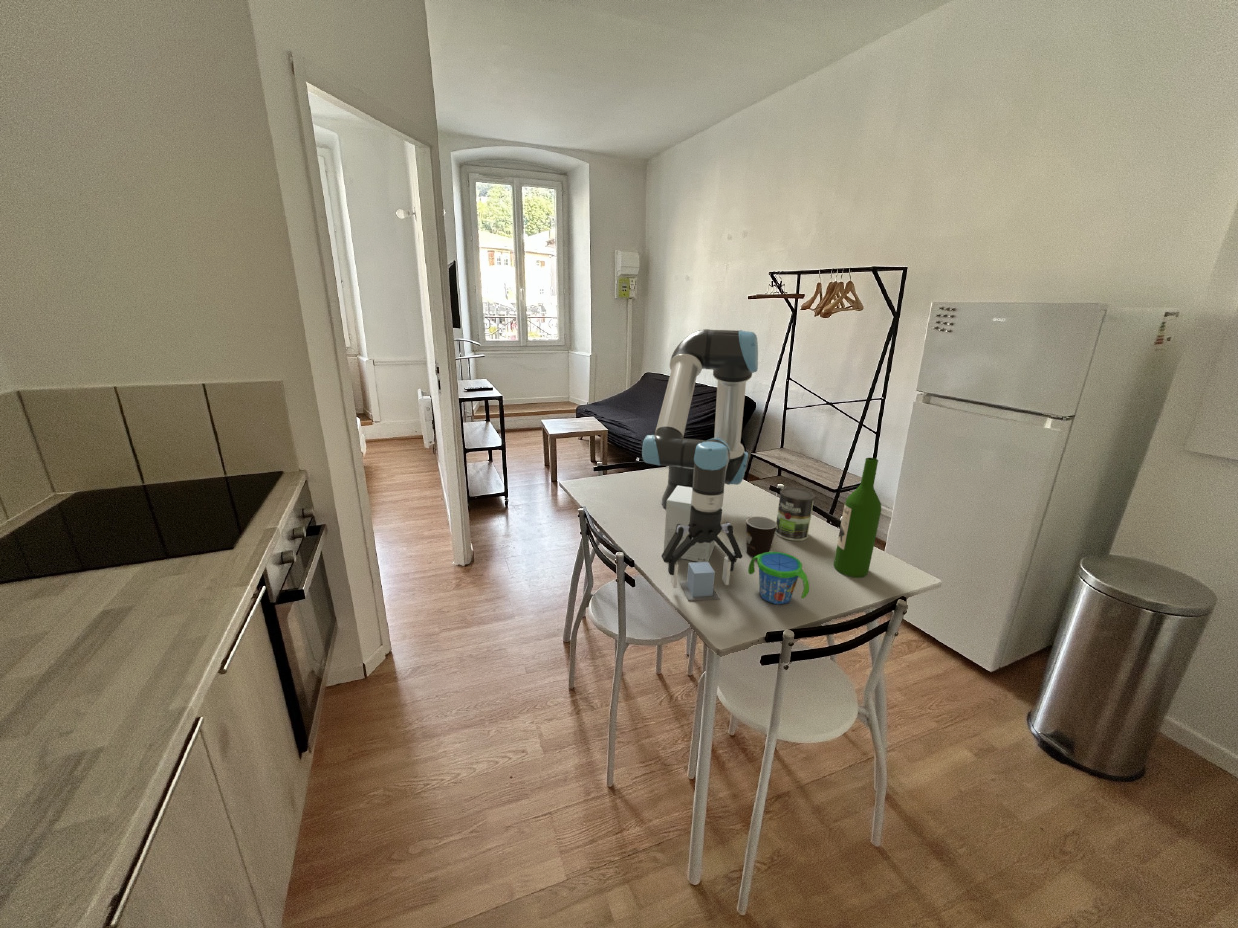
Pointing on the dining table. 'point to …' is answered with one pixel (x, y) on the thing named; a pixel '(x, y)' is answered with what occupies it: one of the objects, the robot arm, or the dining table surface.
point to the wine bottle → (859, 526)
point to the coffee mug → (759, 535)
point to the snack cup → (778, 576)
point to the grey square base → (690, 598)
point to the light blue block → (700, 579)
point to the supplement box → (684, 524)
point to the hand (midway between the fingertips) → (699, 583)
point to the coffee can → (794, 513)
